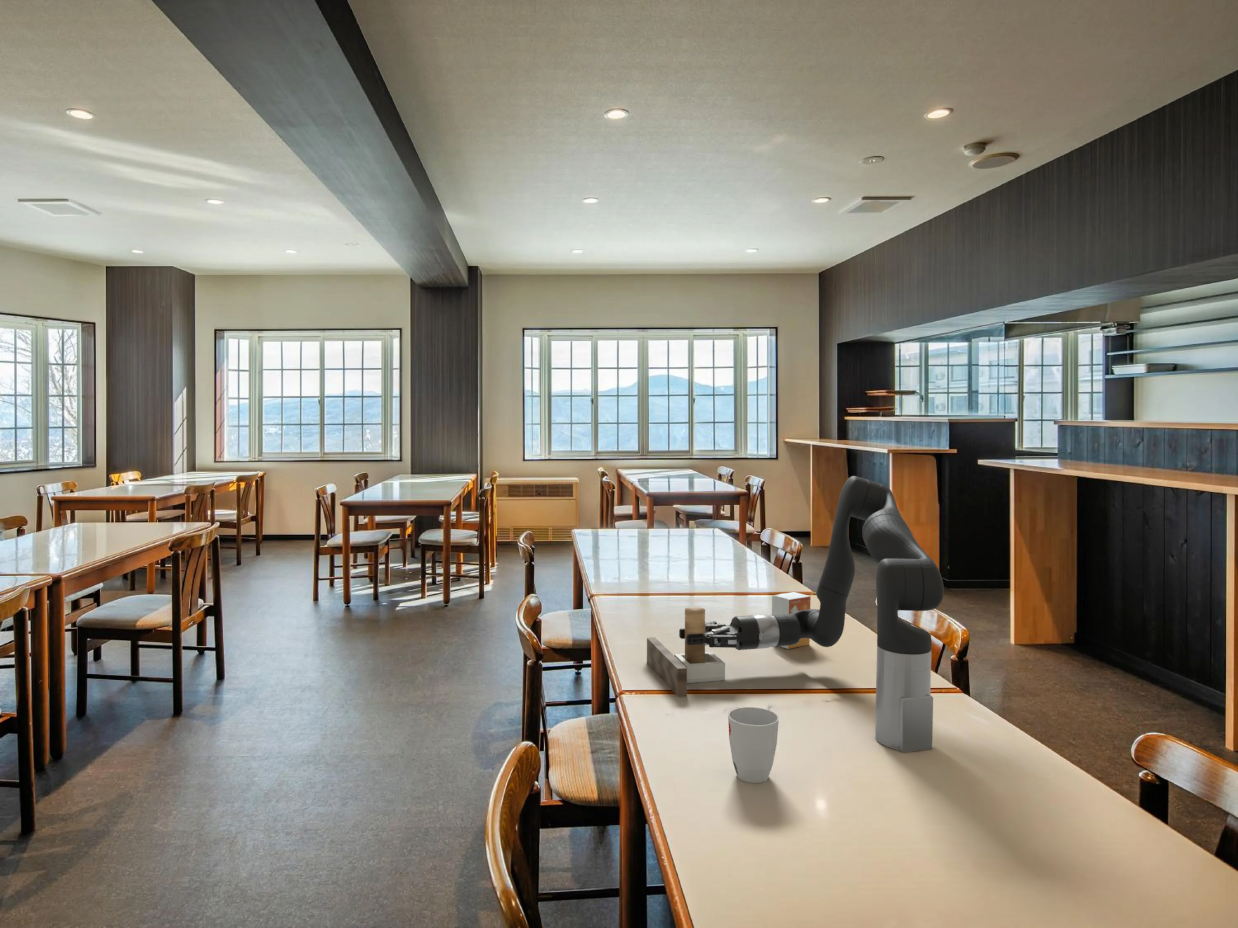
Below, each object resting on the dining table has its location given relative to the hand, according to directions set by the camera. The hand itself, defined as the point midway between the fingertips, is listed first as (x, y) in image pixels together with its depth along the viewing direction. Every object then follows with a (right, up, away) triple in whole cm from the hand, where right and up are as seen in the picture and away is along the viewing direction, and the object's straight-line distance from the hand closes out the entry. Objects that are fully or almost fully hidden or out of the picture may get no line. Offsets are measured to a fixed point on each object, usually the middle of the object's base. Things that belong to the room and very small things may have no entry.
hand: (683, 636), depth 172 cm
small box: (+31, -9, +30) cm, 44 cm away
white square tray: (+4, -9, +1) cm, 10 cm away
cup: (+7, -13, -46) cm, 48 cm away
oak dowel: (+3, -8, +1) cm, 8 cm away
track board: (+4, -10, +2) cm, 11 cm away
